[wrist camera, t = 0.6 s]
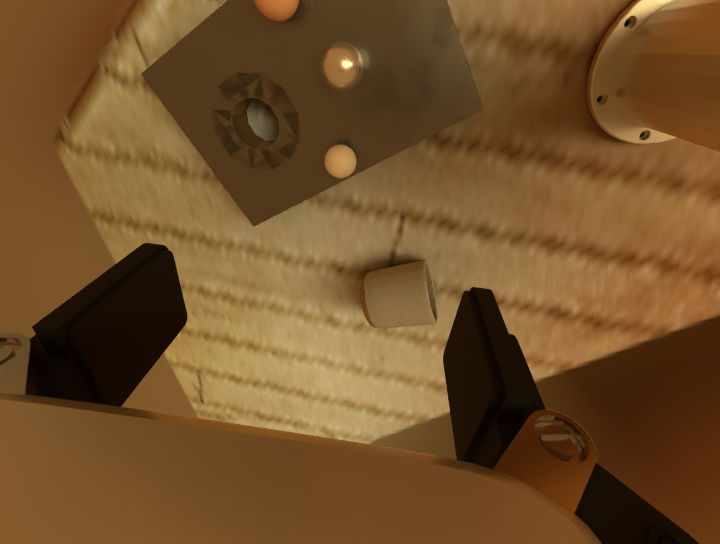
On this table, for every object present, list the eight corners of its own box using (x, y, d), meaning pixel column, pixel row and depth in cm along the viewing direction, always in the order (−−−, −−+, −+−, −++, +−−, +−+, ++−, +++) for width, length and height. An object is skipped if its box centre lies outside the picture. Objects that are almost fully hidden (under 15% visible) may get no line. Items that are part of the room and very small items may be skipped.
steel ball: (352, 32, 28) (346, 29, 25) (372, 75, 29) (368, 78, 26) (317, 56, 29) (306, 57, 26) (338, 97, 30) (330, 102, 28)
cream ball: (348, 135, 32) (343, 142, 30) (363, 164, 33) (360, 173, 31) (322, 150, 33) (315, 158, 31) (337, 177, 34) (332, 187, 32)
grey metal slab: (400, -122, 25) (398, -145, 22) (476, 103, 33) (482, 109, 30) (163, 71, 34) (141, 74, 31) (264, 214, 42) (253, 226, 39)
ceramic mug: (361, 262, 44) (353, 299, 37) (424, 247, 42) (427, 284, 35) (384, 322, 49) (381, 364, 43) (442, 312, 47) (447, 355, 40)
